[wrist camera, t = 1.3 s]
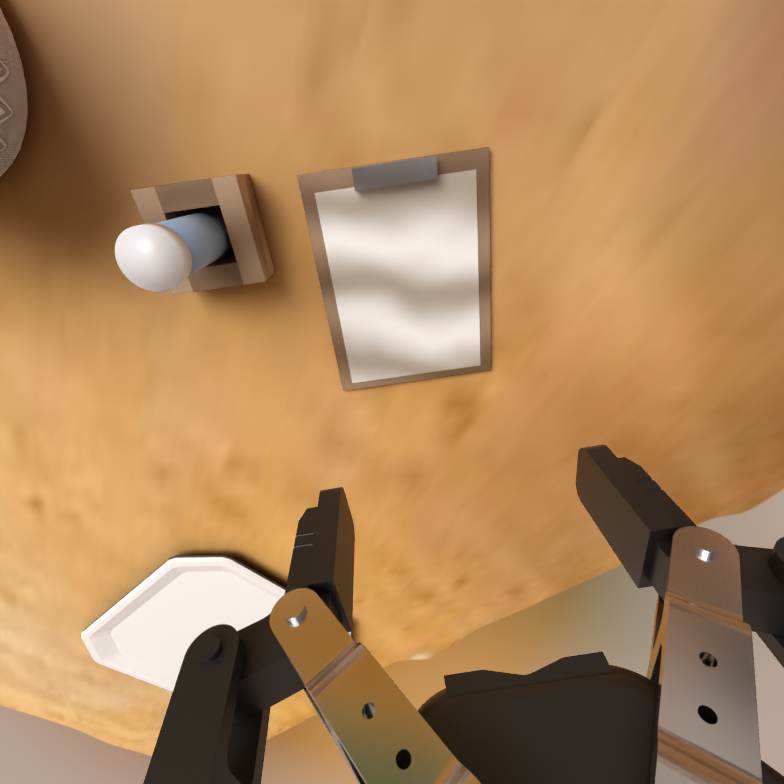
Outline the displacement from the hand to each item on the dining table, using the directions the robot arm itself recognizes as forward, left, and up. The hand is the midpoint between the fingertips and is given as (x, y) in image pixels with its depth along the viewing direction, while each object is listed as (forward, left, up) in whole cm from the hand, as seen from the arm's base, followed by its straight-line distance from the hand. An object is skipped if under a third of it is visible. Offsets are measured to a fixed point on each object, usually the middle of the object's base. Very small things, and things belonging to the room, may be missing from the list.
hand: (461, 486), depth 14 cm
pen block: (-7, -14, -24) cm, 28 cm away
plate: (+43, -30, -24) cm, 58 cm away
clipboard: (-1, 0, -24) cm, 24 cm away
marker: (-7, -14, -24) cm, 28 cm away
